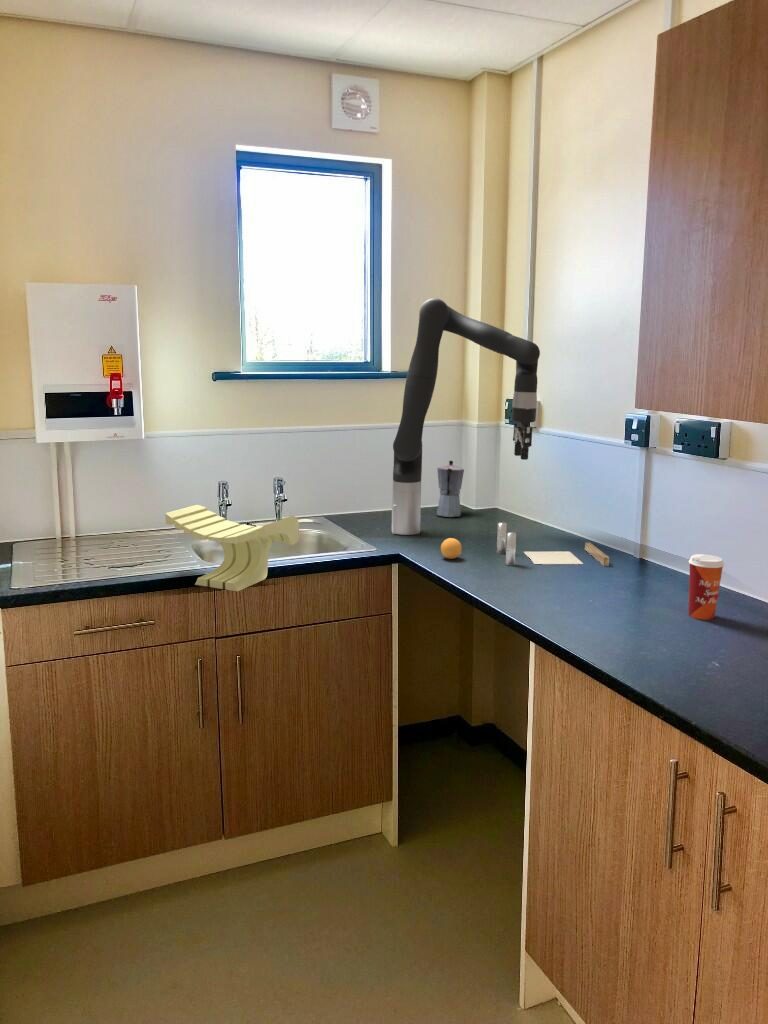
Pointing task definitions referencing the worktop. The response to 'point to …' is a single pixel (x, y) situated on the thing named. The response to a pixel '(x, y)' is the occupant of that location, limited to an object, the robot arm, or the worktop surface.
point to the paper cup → (704, 585)
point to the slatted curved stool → (234, 544)
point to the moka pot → (449, 490)
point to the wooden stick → (597, 554)
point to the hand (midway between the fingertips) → (520, 457)
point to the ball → (451, 548)
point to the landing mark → (553, 558)
